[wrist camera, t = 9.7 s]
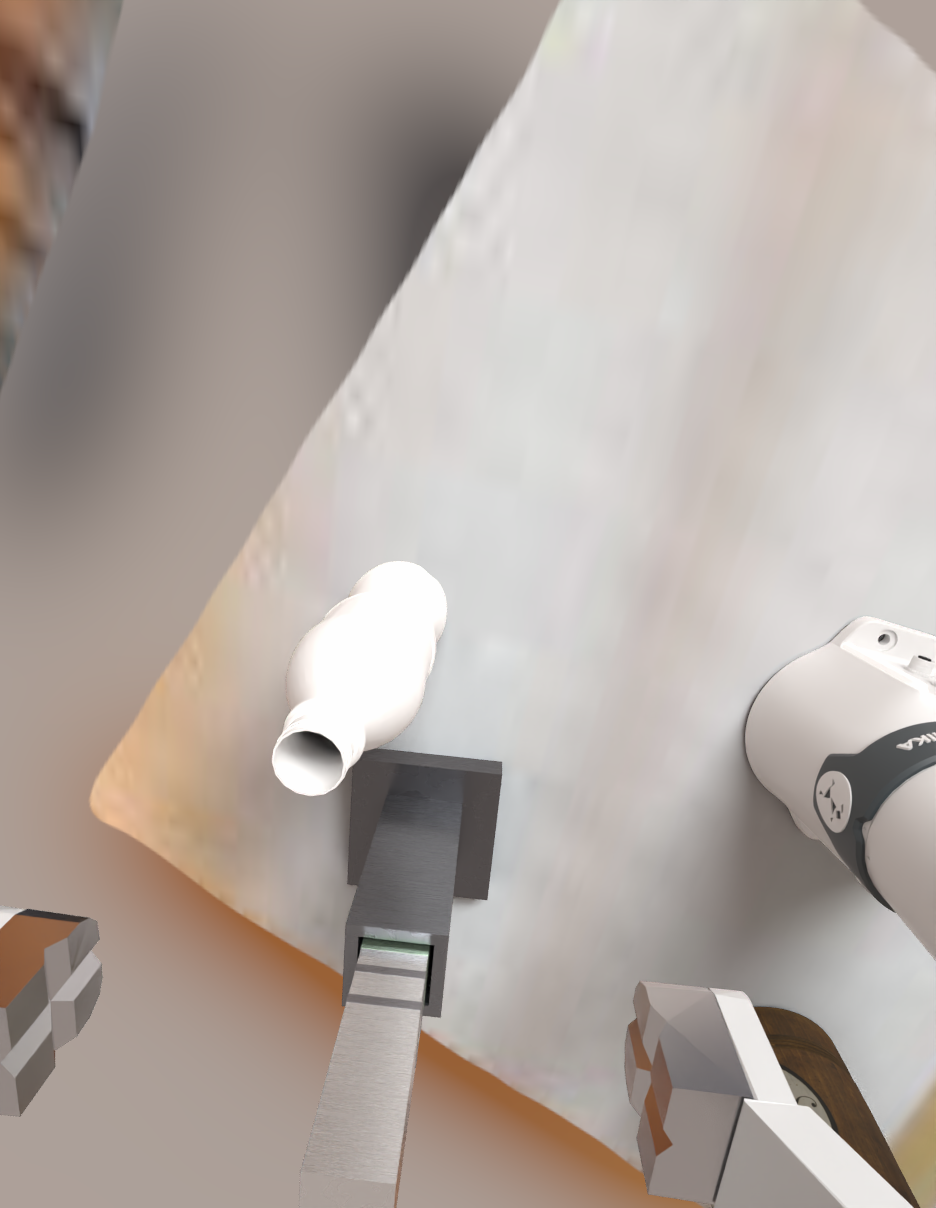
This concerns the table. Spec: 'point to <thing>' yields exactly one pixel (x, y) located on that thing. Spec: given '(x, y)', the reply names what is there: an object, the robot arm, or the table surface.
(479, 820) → the stand
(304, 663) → the water bottle
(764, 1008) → the wooden container
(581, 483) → the table surface
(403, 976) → the column
